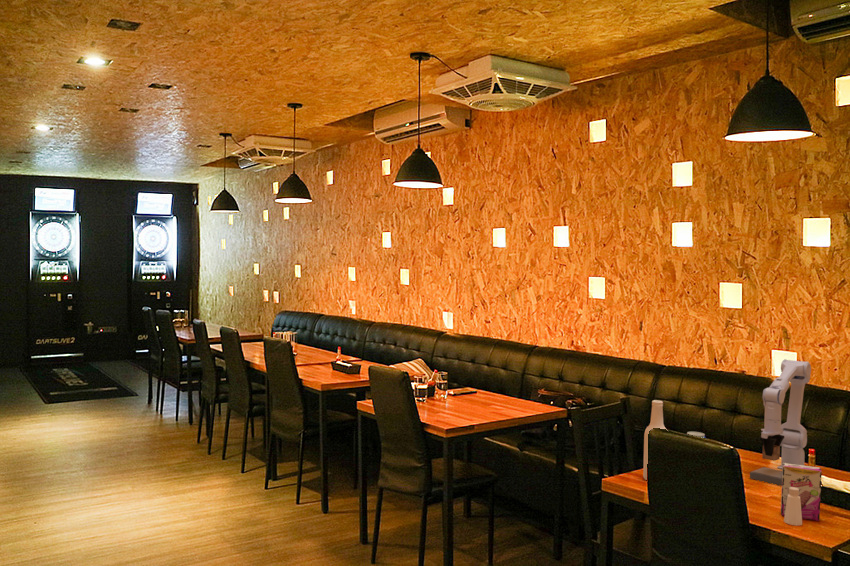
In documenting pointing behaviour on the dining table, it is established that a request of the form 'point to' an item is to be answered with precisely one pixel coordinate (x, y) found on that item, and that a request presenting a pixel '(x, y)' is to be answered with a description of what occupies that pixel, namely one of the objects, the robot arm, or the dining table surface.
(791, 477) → the candy bar box
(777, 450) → the block
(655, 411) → the alcohol
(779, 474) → the tray
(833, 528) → the dining table surface
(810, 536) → the dining table surface
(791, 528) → the dining table surface
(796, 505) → the salt shaker
